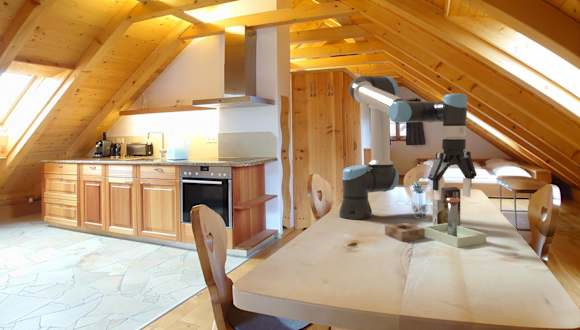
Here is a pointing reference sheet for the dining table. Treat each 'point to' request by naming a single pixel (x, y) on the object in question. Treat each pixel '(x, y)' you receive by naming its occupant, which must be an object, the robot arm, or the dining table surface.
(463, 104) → the robot arm
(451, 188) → the coffee box
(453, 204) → the pin
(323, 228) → the dining table surface
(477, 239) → the tray
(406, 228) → the socket block
